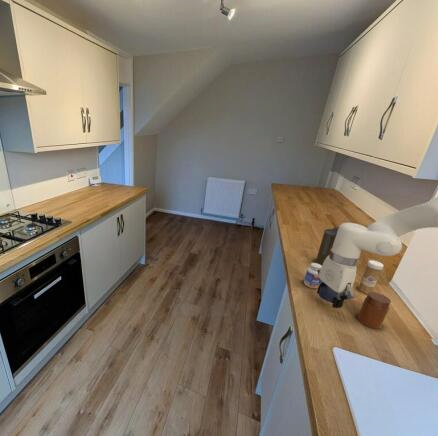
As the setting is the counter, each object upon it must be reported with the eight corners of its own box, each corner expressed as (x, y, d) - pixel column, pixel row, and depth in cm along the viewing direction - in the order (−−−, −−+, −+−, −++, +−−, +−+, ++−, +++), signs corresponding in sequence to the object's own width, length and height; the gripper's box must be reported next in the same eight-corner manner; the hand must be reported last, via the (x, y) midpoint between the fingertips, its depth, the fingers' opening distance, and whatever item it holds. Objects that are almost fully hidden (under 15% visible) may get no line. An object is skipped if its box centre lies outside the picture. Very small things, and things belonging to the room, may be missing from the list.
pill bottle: (311, 289, 99) (317, 269, 96) (300, 282, 104) (305, 262, 100) (321, 287, 100) (327, 267, 97) (309, 280, 105) (315, 261, 102)
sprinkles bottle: (359, 292, 98) (371, 264, 93) (356, 286, 102) (366, 258, 97) (374, 295, 96) (386, 266, 91) (369, 289, 100) (381, 261, 95)
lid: (324, 302, 85) (326, 296, 84) (314, 290, 91) (316, 284, 90) (345, 304, 84) (347, 298, 83) (334, 292, 90) (336, 286, 89)
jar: (366, 314, 86) (376, 290, 82) (385, 327, 80) (397, 302, 77) (352, 316, 85) (362, 292, 81) (371, 330, 79) (382, 304, 75)
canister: (323, 258, 124) (334, 222, 117) (345, 268, 115) (358, 230, 108) (309, 261, 120) (319, 225, 113) (330, 272, 111) (343, 233, 104)
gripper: (315, 246, 90) (303, 285, 96) (354, 272, 73) (337, 317, 80) (334, 246, 90) (321, 285, 96) (377, 272, 74) (358, 317, 80)
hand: (328, 299), depth 88 cm, fingers closed on lid, 6 cm apart
